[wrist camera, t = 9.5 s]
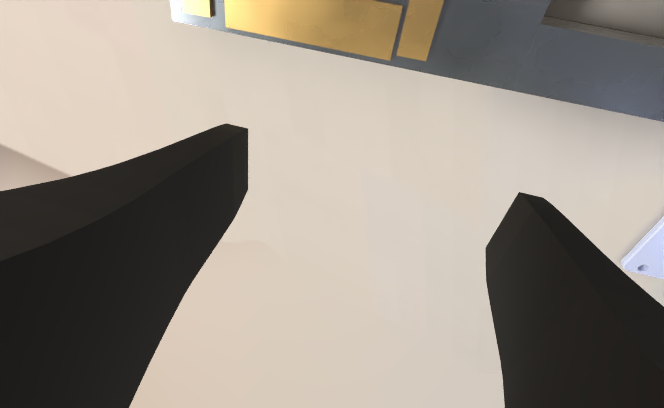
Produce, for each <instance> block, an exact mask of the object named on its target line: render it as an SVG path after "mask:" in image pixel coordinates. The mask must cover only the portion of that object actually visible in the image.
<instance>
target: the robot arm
mask: <svg viewBox="0 0 664 408" xmlns="http://www.w3.org/2000/svg"><path fill="white" fill-rule="evenodd" d="M247 190H248V129H247V128H243V127H239V126H234V125H230V124H223V125H220V126H217V127H214V128H211V129H209V130H206V131H204V132H201V133H199V134H196V135H194V136H191V137H189V138H186V139H184V140H181V141H179V142H176V143H174V144H171V145H169V146H166V147H164V148H161V149H159V150H156V151H153V152H150V153H147V154H144V155H142V156H139V157H136V158H133V159H130V160H127V161H125V162H122V163H119V164H116V165H112V166H109V167H106V168H102V169H99V170H95V171H92V172H88V173H84V174H80V175H76V176H73V177H68V178H64V179H60V180H55V181H50V182H46V183H41V184H35V185H30V186H26V187H21V188H16V189H11V190H5V191H0V408H129V406H130V404H131V402H132V400H133V397H134V395H135V393H136V391H137V389H138V386H139V385H140V382H141V380H142V378H143V376H144V374H145V371H146V370H147V367H148V365H149V363H150V361H151V359H152V357H153V355H154V353H155V351H156V349H157V347H158V345H159V343H160V341H161V339H162V337H163V335H164V333H165V331H166V329H167V327H168V325H169V323H170V321H171V319H172V317H173V315H174V313H175V311H176V309H177V307H178V306H179V303H180V302H181V300H182V298H183V296H184V294H185V293H186V291H187V289H188V288H189V286H190V284H191V283H192V281H193V279H194V278H195V277H196V275H197V274H198V272H199V270H200V269H201V267H202V266H203V264H204V263H205V262H206V260H207V259H208V257H209V256H210V254H211V253H212V251H213V250H214V248H215V247H216V245H217V244H218V242H219V241H220V239H221V238H222V236H223V235H224V233H225V232H226V230H227V229H228V227H229V226H230V224H231V223H232V221H233V219H234V218H235V216H236V214H237V212H238V210H239V208H240V206H241V204H242V201H243V199H244V197H245V195H246V193H247ZM621 265H622V266H623V268H624V269H625V270H627V271H630V272H635V273H639V274H643V275H647V276H652V277H656V278H660V279H664V216H663V217H662V218H661V219H660V220H659V221H658V223H657V224H656V225H655V226H654V227H653V228H652V229H651V230H650V231H649V232H648V233H647V234H646V235H645V236H644V237H643V238H642V239H641V240H640V241H639V242H638V243H637V245H636V246H635V247H634V248H633V249H632V250H631V251H630V252H629V253H628V254H627V255H626V256H625V257H624V258H623V259H622V261H621ZM640 265H642V266H640ZM486 282H487V288H488V294H489V300H490V306H491V311H492V317H493V322H494V328H495V333H496V339H497V344H498V349H499V355H500V360H501V368H502V375H503V386H504V401H505V408H664V307H663V306H662V305H661V304H660V303H659V302H657V301H656V300H655V299H654V298H653V297H651V296H650V295H649V294H648V293H647V292H646V291H644V290H643V289H642V288H641V287H640V286H639V285H638V284H636V283H635V282H634V281H633V280H632V279H631V278H630V277H628V276H627V275H626V274H625V273H624V272H623V271H622V270H621V269H620V268H618V267H617V266H616V265H615V264H614V263H613V262H612V261H611V260H610V259H609V258H608V257H607V256H606V255H604V254H603V253H602V252H601V251H600V250H599V249H598V248H597V247H596V246H595V245H594V244H593V243H592V242H591V241H590V240H589V239H588V238H587V237H586V236H585V235H584V234H583V233H582V232H581V231H580V230H578V229H577V228H576V227H575V226H574V225H573V224H572V223H571V222H570V221H569V220H568V219H567V218H566V217H565V216H564V215H563V214H562V213H561V212H560V211H559V210H557V209H556V208H555V207H554V206H553V205H552V204H550V203H549V202H548V201H547V200H545V199H544V198H542V197H537V196H533V195H529V194H524V193H520V192H519V193H518V195H517V197H516V198H515V200H514V202H513V203H512V205H511V207H510V208H509V210H508V212H507V213H506V215H505V217H504V218H503V220H502V222H501V223H500V225H499V227H498V228H497V230H496V232H495V233H494V235H493V237H492V238H491V240H490V242H489V243H488V245H487V247H486Z"/></svg>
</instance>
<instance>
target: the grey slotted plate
mask: <svg viewBox="0 0 664 408" xmlns="http://www.w3.org/2000/svg"><path fill="white" fill-rule="evenodd" d="M550 2H551V0H170V6H171V13H172V21H175V22H180V23H185V24H190V25H195V26H199V27H204V28H209V29H214V30H219V31H224V32H229V33H234V34H238V35H243V36H248V37H253V38H258V39H263V40H268V41H273V42H277V43H282V44H287V45H292V46H297V47H302V48H307V49H312V50H317V51H321V52H326V53H331V54H336V55H341V56H346V57H351V58H356V59H360V60H365V61H370V62H375V63H380V64H385V65H390V66H395V67H400V68H404V69H409V70H414V71H419V72H424V73H429V74H434V75H439V76H443V77H448V78H453V79H458V80H463V81H468V82H473V83H478V84H482V85H487V86H492V87H497V88H502V89H507V90H512V91H517V92H522V93H526V94H531V95H536V96H541V97H546V98H551V99H556V100H561V101H565V102H570V103H575V104H580V105H585V106H590V107H595V108H600V109H605V110H609V111H614V112H619V113H624V114H629V115H634V116H639V117H644V118H648V119H653V120H658V121H663V122H664V39H662V38H657V37H651V36H646V35H641V34H636V33H630V32H625V31H620V30H615V29H610V28H604V27H599V26H594V25H589V24H583V23H578V22H573V21H568V20H562V19H557V18H552V17H547V16H544V15H545V13H546V10H547V8H548V6H549V4H550Z"/></svg>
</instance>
